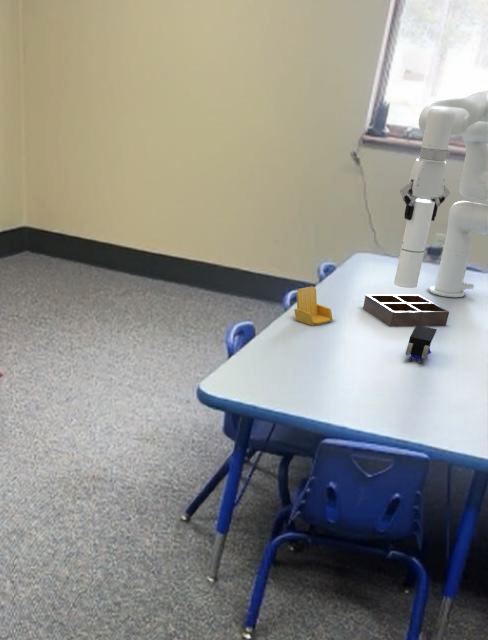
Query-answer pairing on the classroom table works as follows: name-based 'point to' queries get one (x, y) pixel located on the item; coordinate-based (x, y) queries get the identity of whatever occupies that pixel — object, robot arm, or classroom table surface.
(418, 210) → the cylindrical container
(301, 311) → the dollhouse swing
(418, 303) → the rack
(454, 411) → the classroom table surface
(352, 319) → the classroom table surface
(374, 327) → the classroom table surface
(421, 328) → the figurine character
